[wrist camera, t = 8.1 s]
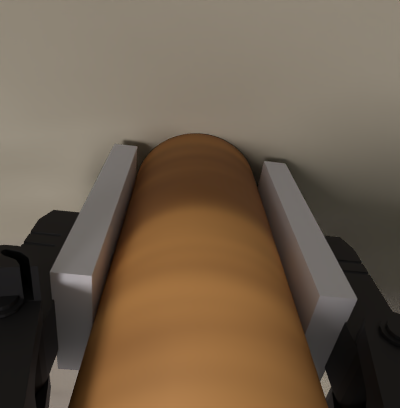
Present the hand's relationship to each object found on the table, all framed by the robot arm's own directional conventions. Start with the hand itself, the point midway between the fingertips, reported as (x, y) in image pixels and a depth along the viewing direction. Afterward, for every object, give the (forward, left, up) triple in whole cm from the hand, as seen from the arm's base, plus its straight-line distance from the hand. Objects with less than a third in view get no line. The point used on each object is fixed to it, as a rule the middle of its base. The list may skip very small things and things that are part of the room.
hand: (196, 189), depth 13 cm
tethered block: (+10, +1, -1) cm, 10 cm away
